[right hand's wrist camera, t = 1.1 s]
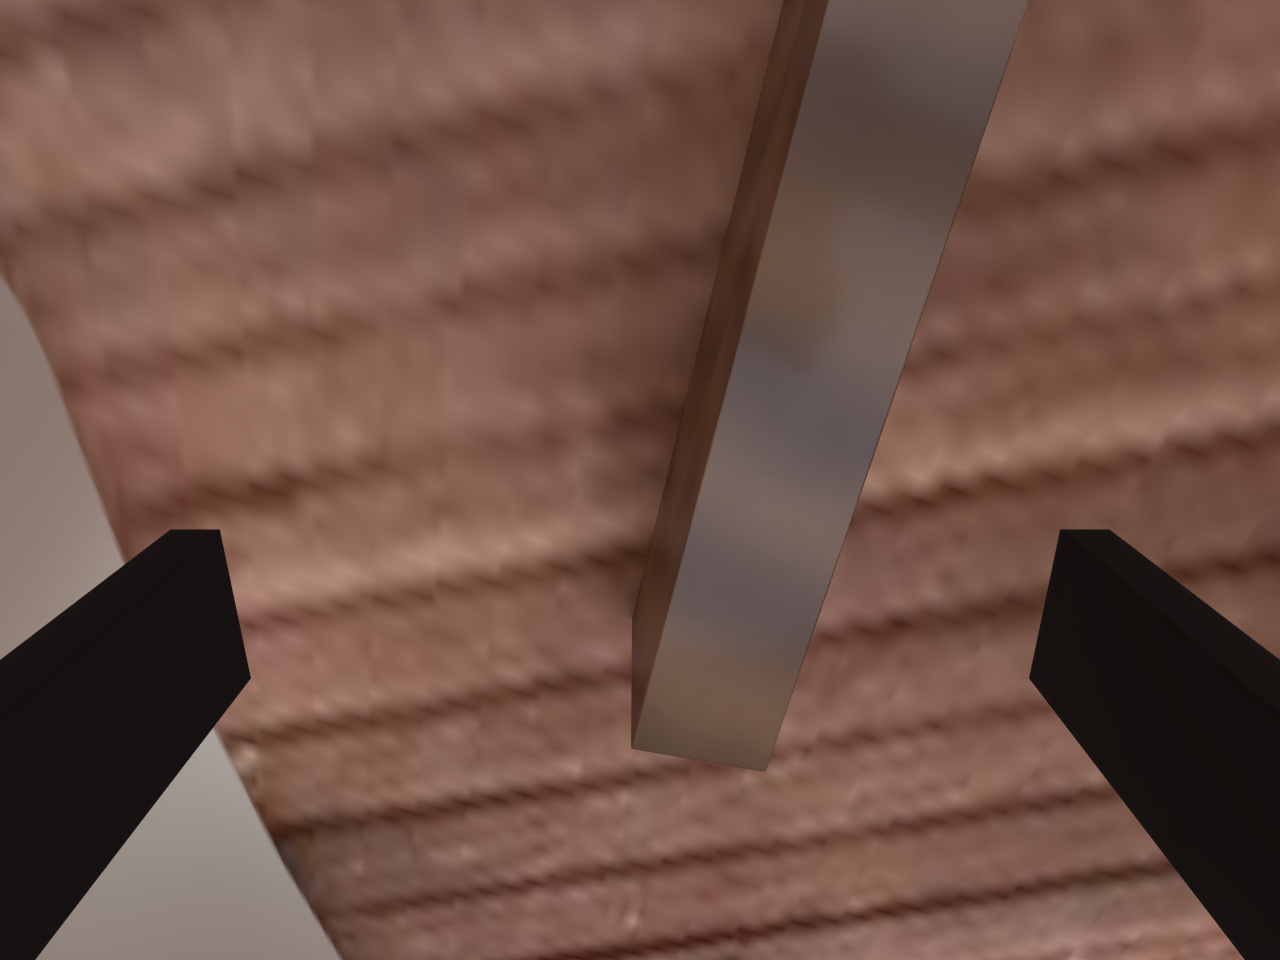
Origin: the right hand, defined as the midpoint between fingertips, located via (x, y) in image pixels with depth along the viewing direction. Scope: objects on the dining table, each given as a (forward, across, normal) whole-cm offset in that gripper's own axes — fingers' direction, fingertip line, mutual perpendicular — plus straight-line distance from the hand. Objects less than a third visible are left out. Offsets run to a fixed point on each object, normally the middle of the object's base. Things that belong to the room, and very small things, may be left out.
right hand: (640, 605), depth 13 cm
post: (+19, -9, -21) cm, 30 cm away
